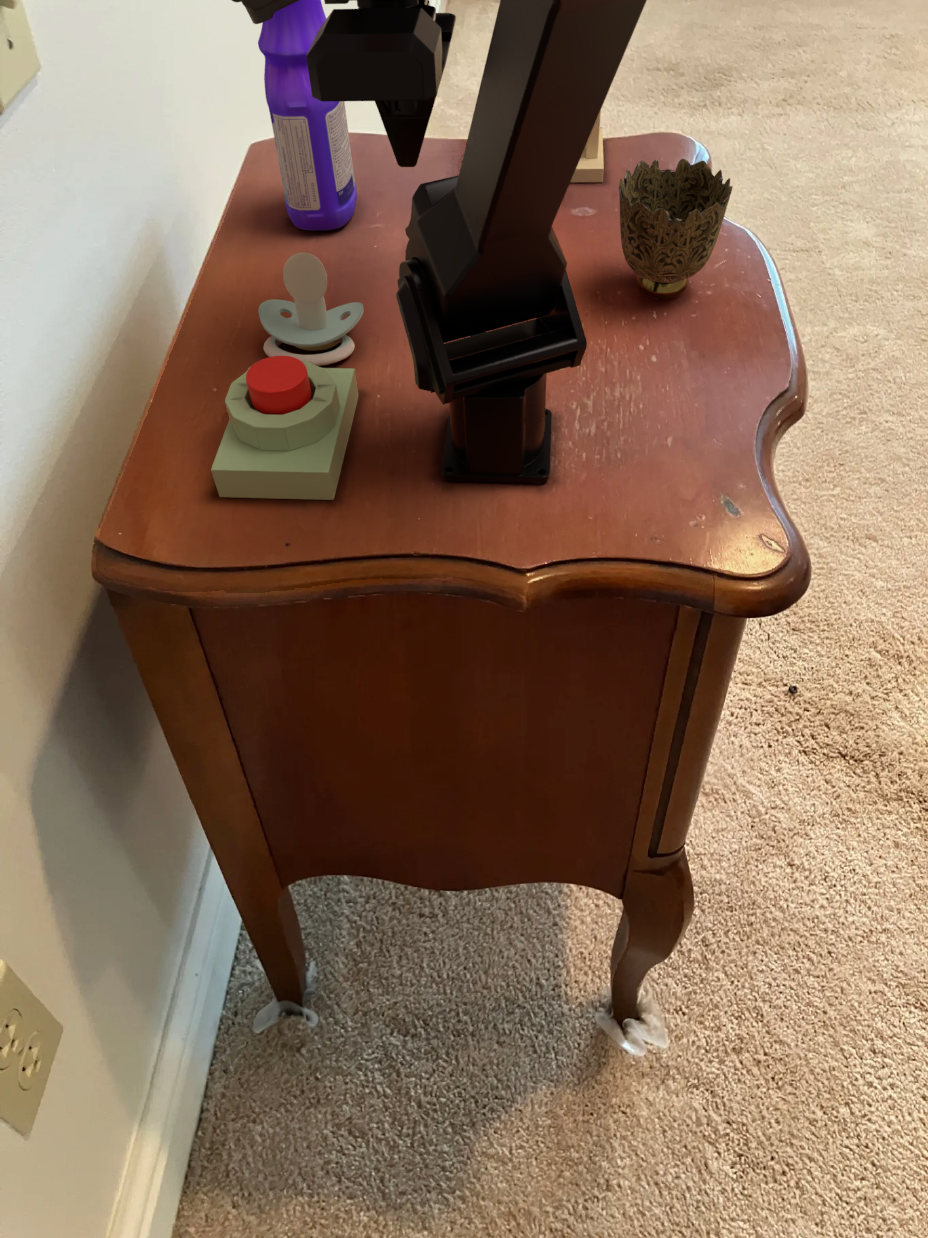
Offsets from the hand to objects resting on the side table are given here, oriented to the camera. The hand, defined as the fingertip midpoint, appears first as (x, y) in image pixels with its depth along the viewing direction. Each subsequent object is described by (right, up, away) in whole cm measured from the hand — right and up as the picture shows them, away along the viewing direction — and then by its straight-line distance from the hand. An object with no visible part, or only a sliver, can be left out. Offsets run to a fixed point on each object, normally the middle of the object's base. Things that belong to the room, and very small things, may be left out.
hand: (407, 164), depth 57 cm
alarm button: (-8, -14, -1) cm, 16 cm away
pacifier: (-7, -9, +9) cm, 14 cm away
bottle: (-8, +6, +21) cm, 23 cm away
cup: (+18, -4, +12) cm, 22 cm away
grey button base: (-7, -17, +2) cm, 18 cm away
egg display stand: (+13, +12, +25) cm, 31 cm away
